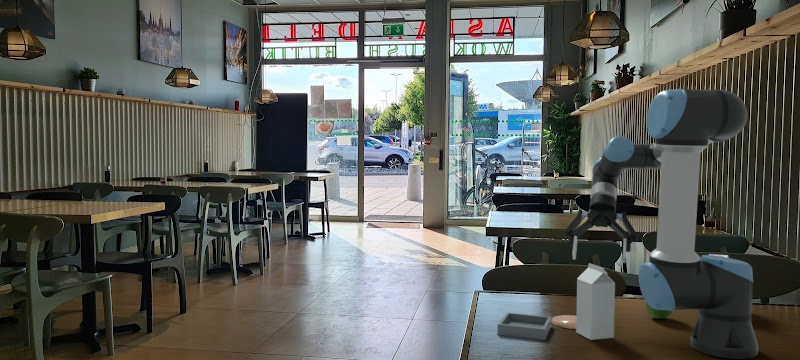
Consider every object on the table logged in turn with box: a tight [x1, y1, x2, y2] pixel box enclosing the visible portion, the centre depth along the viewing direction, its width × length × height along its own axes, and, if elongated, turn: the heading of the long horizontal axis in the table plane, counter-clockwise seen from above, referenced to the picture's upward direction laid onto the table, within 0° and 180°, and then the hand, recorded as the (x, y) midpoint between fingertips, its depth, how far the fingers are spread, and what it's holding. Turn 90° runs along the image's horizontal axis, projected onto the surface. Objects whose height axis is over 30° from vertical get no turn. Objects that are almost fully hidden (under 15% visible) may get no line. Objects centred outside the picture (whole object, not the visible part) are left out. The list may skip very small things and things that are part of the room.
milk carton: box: [575, 263, 616, 341], centre depth 170 cm, size 7×7×19 cm
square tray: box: [496, 312, 553, 341], centre depth 175 cm, size 13×13×3 cm
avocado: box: [645, 301, 674, 320], centre depth 186 cm, size 8×8×12 cm
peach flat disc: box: [551, 314, 577, 330], centre depth 182 cm, size 11×11×1 cm
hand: (598, 258), depth 179 cm, fingers open, 13 cm apart
